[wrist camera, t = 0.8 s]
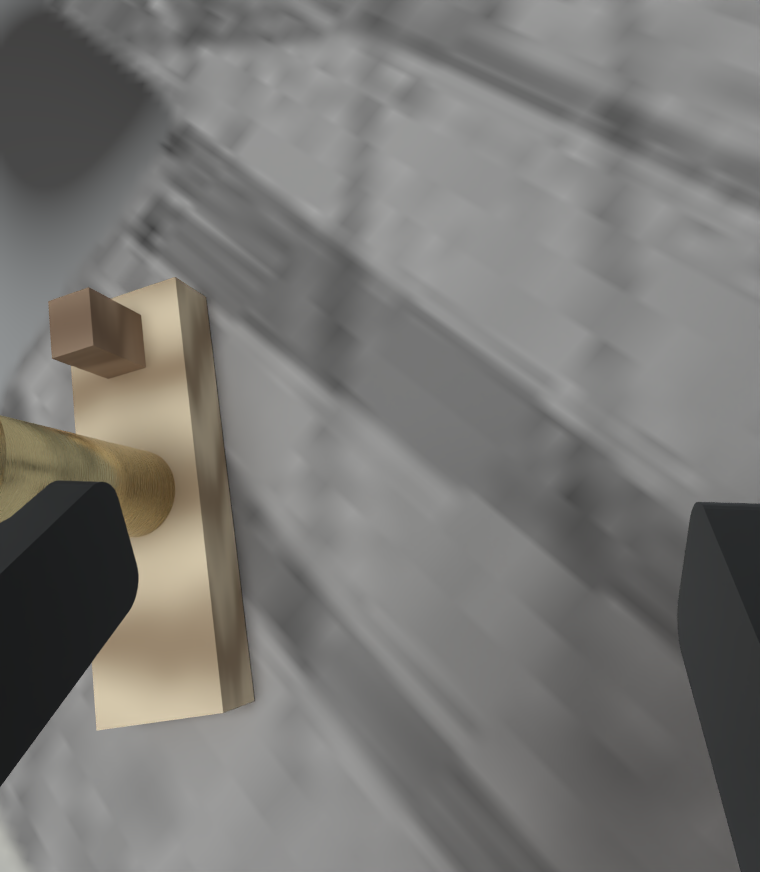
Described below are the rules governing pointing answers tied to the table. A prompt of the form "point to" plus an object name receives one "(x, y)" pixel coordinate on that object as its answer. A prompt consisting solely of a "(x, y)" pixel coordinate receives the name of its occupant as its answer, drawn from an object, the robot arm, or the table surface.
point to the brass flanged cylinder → (82, 471)
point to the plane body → (192, 508)
